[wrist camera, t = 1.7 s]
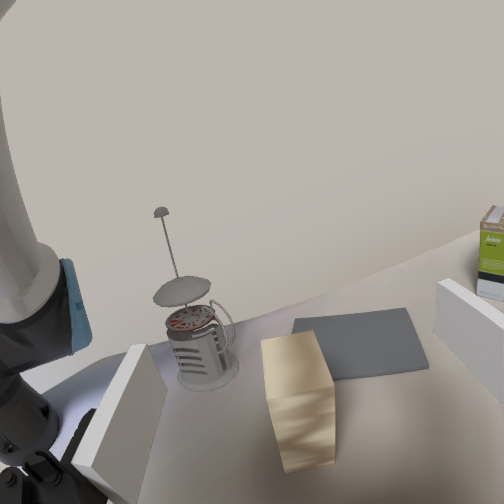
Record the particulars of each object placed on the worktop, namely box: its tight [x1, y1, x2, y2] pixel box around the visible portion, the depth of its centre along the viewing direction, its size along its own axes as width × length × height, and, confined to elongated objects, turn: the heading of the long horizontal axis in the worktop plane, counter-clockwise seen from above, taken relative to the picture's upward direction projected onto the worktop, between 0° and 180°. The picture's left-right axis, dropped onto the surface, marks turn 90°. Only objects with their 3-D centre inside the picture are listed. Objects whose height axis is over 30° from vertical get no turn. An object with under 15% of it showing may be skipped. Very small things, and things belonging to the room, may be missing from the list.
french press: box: [153, 207, 239, 392], centre depth 38 cm, size 10×12×25 cm
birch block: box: [261, 330, 335, 473], centre depth 25 cm, size 5×8×12 cm, turn 2°
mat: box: [292, 308, 429, 380], centre depth 41 cm, size 20×16×1 cm
